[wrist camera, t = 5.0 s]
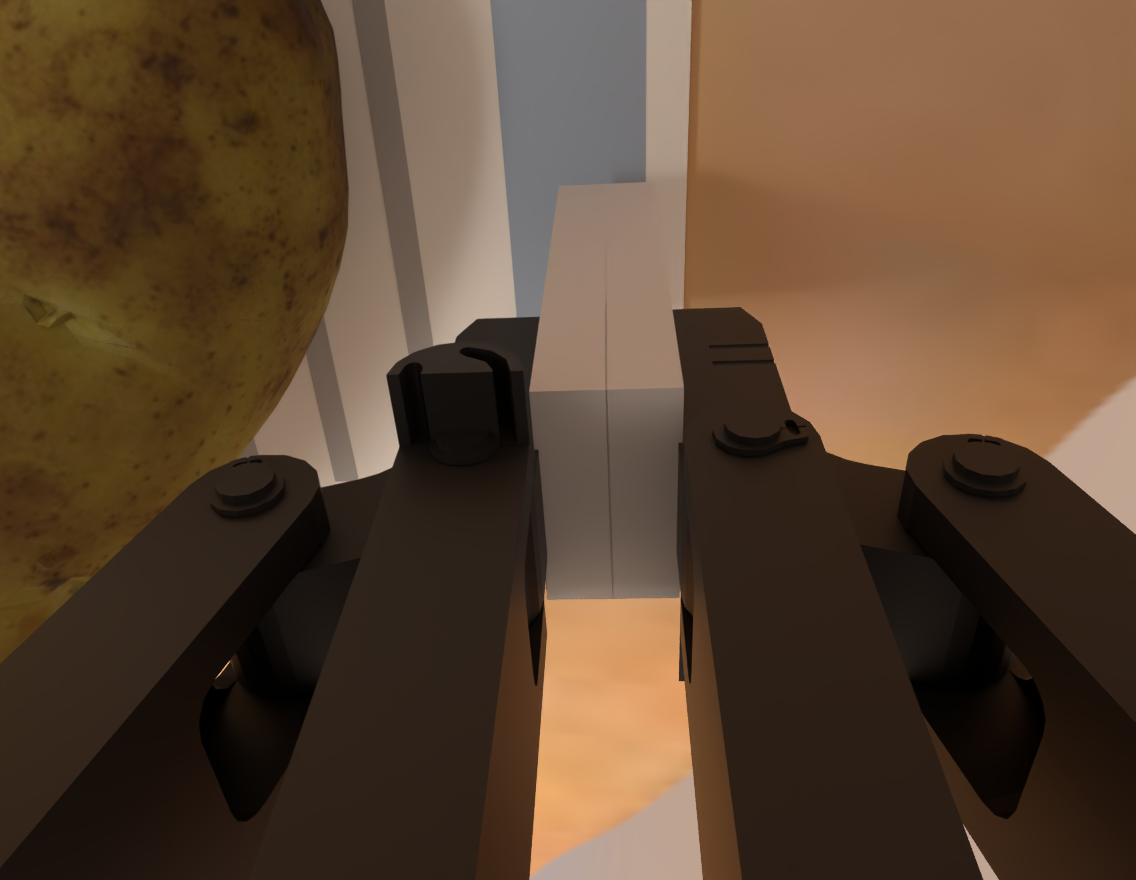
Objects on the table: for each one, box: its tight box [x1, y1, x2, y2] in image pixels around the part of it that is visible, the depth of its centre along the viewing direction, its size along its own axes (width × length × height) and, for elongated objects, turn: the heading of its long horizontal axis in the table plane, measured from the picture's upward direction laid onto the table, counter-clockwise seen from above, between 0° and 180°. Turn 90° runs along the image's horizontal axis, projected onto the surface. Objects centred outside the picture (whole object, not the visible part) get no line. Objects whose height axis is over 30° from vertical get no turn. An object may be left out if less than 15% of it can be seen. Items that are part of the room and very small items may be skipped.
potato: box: [0, 0, 349, 664], centre depth 13 cm, size 8×13×8 cm, turn 123°
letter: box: [239, 0, 692, 487], centre depth 15 cm, size 18×15×1 cm
